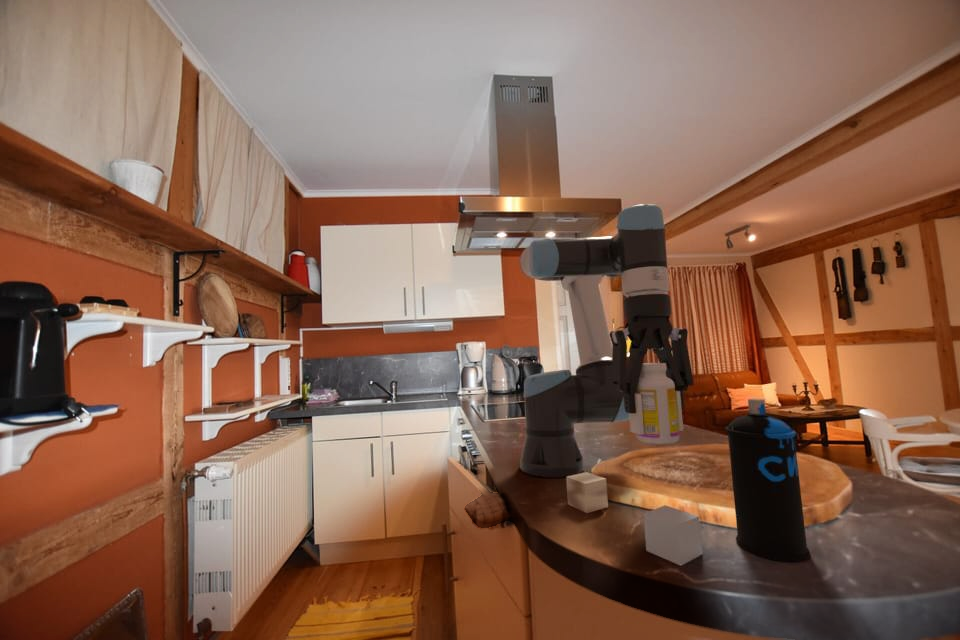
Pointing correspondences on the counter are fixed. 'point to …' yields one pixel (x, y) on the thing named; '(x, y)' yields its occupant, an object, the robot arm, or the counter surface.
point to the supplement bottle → (657, 405)
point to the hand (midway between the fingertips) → (656, 431)
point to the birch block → (587, 492)
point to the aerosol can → (766, 486)
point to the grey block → (673, 534)
